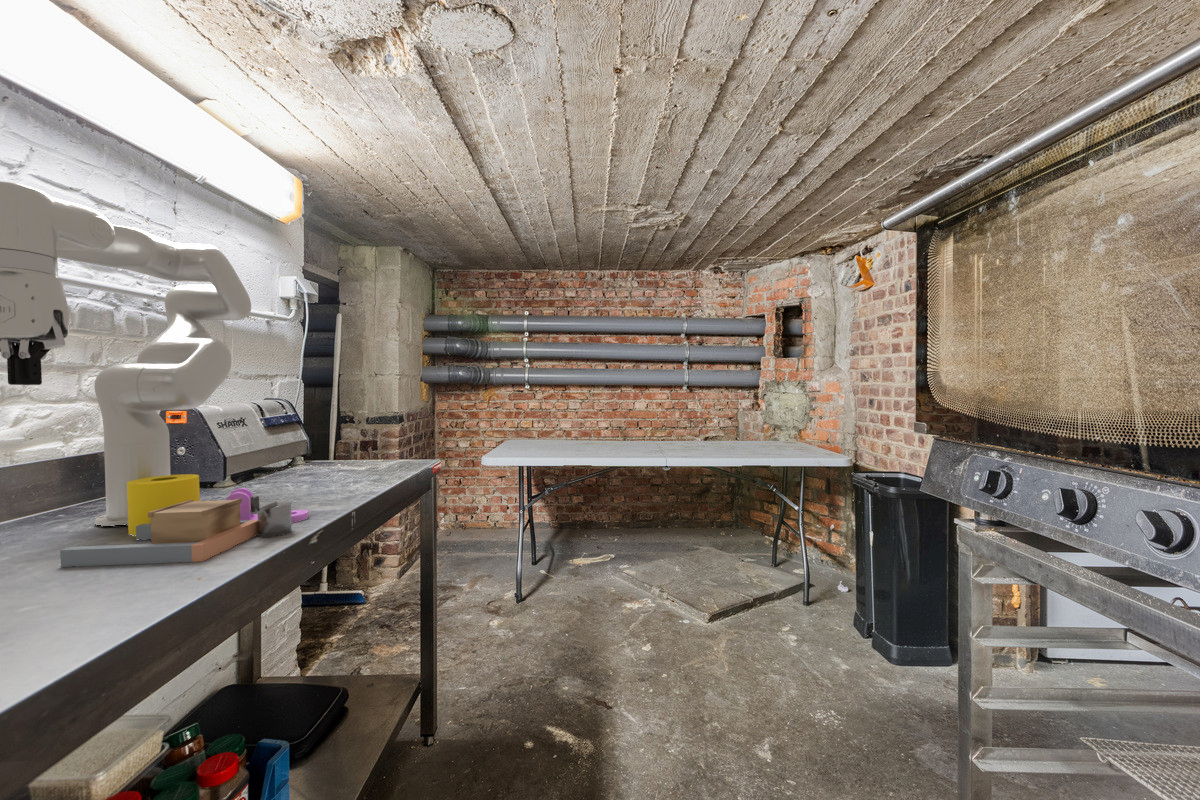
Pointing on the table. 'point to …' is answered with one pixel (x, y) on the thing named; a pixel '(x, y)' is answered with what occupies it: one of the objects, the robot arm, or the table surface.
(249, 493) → the bracket
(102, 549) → the bay
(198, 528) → the block
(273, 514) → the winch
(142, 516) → the yellow roll
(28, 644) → the table surface
